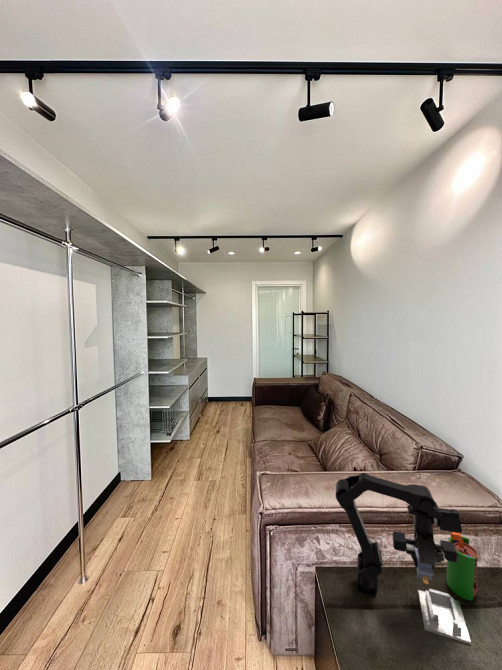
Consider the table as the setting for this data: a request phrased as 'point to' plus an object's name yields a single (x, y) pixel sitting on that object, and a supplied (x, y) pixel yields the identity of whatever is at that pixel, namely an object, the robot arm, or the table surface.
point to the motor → (463, 568)
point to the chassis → (443, 615)
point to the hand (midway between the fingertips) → (423, 568)
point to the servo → (423, 569)
